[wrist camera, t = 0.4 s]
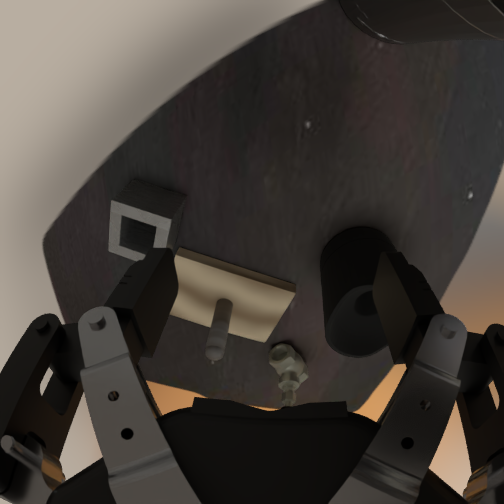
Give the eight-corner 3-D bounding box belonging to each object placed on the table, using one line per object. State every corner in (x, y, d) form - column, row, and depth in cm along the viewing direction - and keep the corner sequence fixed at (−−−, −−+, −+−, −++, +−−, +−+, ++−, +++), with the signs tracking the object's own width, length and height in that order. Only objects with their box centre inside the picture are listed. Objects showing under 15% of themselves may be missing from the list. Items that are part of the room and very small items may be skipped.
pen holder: (323, 218, 29) (337, 284, 21) (405, 226, 28) (442, 288, 20) (310, 288, 34) (316, 357, 26) (383, 291, 34) (403, 356, 26)
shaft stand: (179, 247, 33) (151, 307, 25) (295, 284, 34) (297, 350, 26) (167, 304, 38) (145, 361, 30) (265, 334, 40) (260, 393, 32)
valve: (279, 368, 45) (276, 436, 35) (259, 347, 42) (252, 420, 32) (317, 358, 43) (321, 428, 33) (300, 335, 40) (302, 412, 30)
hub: (134, 179, 28) (111, 200, 24) (187, 195, 29) (171, 219, 25) (128, 225, 32) (108, 251, 27) (176, 242, 32) (161, 270, 28)
